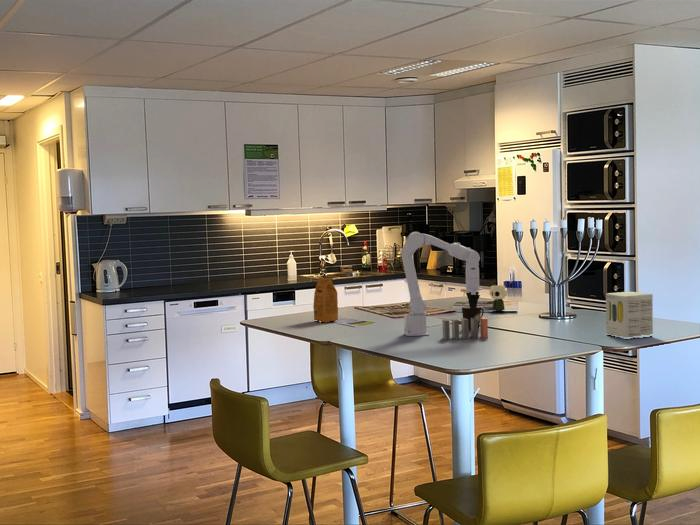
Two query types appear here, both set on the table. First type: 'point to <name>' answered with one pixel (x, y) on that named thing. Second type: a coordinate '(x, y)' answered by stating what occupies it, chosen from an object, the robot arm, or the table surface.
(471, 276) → the robot arm
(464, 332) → the domino
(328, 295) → the coffee package
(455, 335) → the domino
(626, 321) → the supplement box
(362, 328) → the table surface
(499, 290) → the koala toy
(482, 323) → the red domino
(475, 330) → the domino
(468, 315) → the coffee mug
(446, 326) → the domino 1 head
